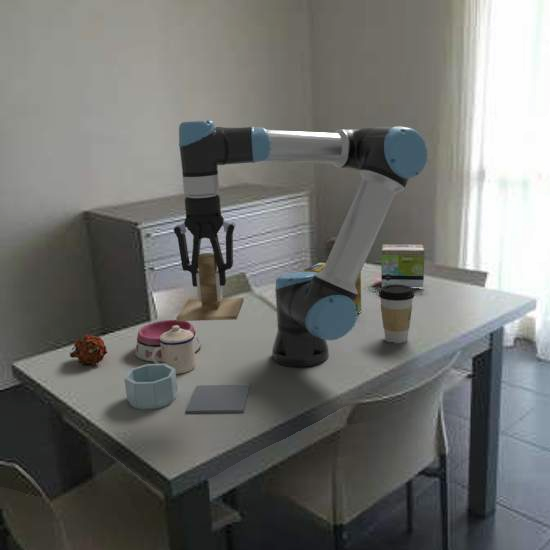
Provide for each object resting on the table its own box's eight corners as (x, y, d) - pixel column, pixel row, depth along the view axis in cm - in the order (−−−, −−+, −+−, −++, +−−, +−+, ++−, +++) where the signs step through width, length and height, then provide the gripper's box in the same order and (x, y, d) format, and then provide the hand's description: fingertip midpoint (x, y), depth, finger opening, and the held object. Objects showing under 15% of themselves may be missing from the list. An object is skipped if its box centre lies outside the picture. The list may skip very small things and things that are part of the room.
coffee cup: (420, 337, 176) (421, 287, 172) (402, 348, 169) (402, 295, 165) (391, 330, 182) (391, 282, 178) (372, 340, 175) (371, 290, 171)
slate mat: (249, 386, 150) (249, 384, 150) (243, 412, 137) (243, 409, 137) (196, 387, 151) (196, 385, 151) (186, 413, 138) (185, 410, 138)
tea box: (381, 289, 223) (381, 249, 220) (381, 282, 233) (381, 243, 229) (424, 289, 221) (424, 249, 217) (422, 282, 230) (422, 243, 227)
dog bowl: (161, 369, 164) (159, 345, 162) (121, 353, 176) (119, 330, 174) (213, 348, 177) (211, 325, 175) (173, 334, 189) (171, 313, 187)
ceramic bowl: (180, 388, 151) (178, 363, 149) (170, 409, 140) (167, 383, 139) (136, 388, 152) (133, 364, 150) (123, 409, 141) (120, 383, 140)
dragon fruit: (101, 374, 165) (80, 369, 174) (120, 349, 169) (98, 345, 178) (79, 356, 161) (58, 351, 169) (99, 330, 165) (78, 327, 173)
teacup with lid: (185, 358, 169) (181, 318, 166) (203, 367, 163) (199, 326, 160) (146, 371, 162) (141, 329, 159) (163, 381, 155) (158, 338, 152)
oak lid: (243, 300, 144) (239, 247, 141) (236, 319, 132) (232, 261, 128) (188, 302, 145) (183, 249, 142) (176, 321, 133) (171, 263, 129)
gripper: (242, 191, 135) (249, 293, 141) (167, 194, 136) (177, 296, 142) (238, 195, 127) (245, 303, 134) (159, 199, 129) (170, 306, 135)
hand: (210, 299), depth 138 cm, fingers closed on oak lid, 3 cm apart
